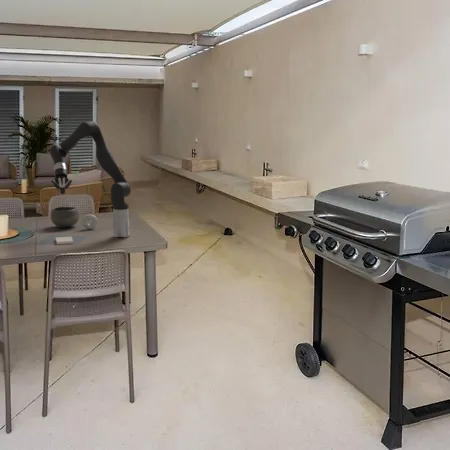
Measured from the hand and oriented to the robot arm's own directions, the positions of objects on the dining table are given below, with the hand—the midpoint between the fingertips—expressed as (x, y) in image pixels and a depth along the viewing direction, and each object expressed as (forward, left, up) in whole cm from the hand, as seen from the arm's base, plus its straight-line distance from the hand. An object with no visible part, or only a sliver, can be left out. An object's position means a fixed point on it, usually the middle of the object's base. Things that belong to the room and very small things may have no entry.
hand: (62, 193), depth 324 cm
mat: (-3, +15, -26) cm, 30 cm away
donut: (-11, -18, -26) cm, 34 cm away
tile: (-4, +15, -25) cm, 29 cm away
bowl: (+7, -25, -26) cm, 37 cm away
